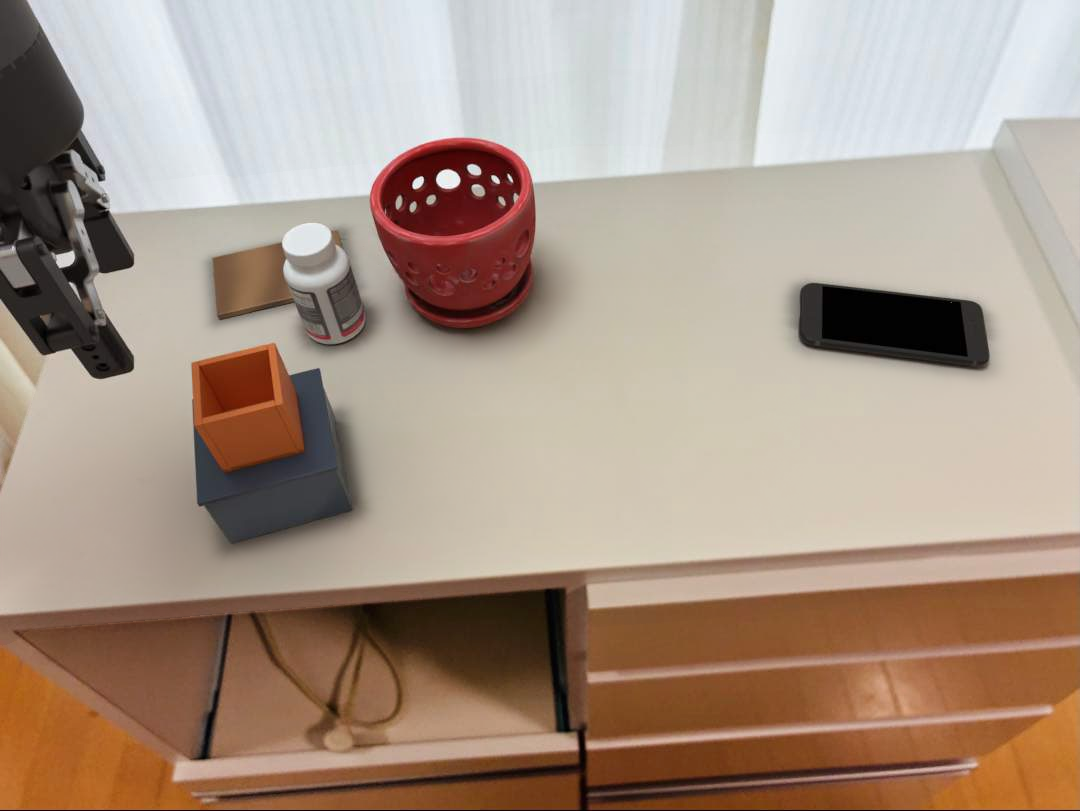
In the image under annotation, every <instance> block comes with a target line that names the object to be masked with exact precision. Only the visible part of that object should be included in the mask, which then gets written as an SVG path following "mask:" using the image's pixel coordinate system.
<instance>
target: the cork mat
mask: <svg viewBox="0 0 1080 811" xmlns="http://www.w3.org/2000/svg"><path fill="white" fill-rule="evenodd" d="M330 231H331V233H332V236H333V239H334V241H335V244H336V245H338V246H339V247H341V248H342V249H343V245H342V241H341V237H340V232H339V230H338V229H334V230H330ZM286 259H287V258H286V255H285V253H284V250H283V247H282V241H281V242H276V243H272V244H268V245H264V246H258V247H255V248H251V249H245V250H242V251H241V250H240V251H236V252H232V253H229V254H228V253H227V254H223V255H219V256H214V257H212V259H211V260H212V271H213V283H214V295H215V308H216V316H217V318H218V320H223V319H227V318H232V317H235V316H240V315H244V314H245V315H246V314H249V313H253V312H257V311H261V310H265V309H269V308H274V307H278V306H283V305H286V304H291V303H295V302H294V300H293V297H292V295H291V292H290V290H289V287H288V285H287V282H286V281H285V277H284V273H283V267H284V263H285V261H286Z"/></svg>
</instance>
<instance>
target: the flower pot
mask: <svg viewBox="0 0 1080 811" xmlns="http://www.w3.org/2000/svg"><path fill="white" fill-rule="evenodd" d="M470 165H474V166H477V167H478V168H479V169H480V174H478V175H477V174H474V173H471V172H470V170H469V169H468V167H469V166H470ZM443 171H452V172H455V174H457V175H458V177H459V184H458V185H456V186H455V187H452V188H445V187H442V186H440V185H439V184H438V182H437V178H438V175H439V174H440V173H441V172H443ZM493 176H494V177H496V178H497V179H498V182H499V183H496V182H495V181H494V180H493V178H492V177H493ZM509 176H510V177H511V180H512V181H511V180H510V178H509ZM420 177H421V178H423V182H422V184H421V186H419V187H417V188H414V186H413V185H414V181H415V180H416V179H419V178H420ZM475 185H476V186H477V185H478V186H480V187H481V188H483V191H484V195H481V196H479V195H476V194H475V193H474V191H473V186H475ZM515 194H516V196H518V197H517V199H516V201H515V197H514V196H515ZM430 196H434V197H435V200H434V202H433V203H430V204H428V203H427V202H428V198H429V197H430ZM399 197H401V204H400V206H399V207H398V208H397V200H398V198H399ZM500 197H501V198H502V199H503V200H504V203H505V204H502V203H501V202H500V199H499V198H500ZM413 203H415V204H416V205H415V209H414V210H413V211H411V205H412V204H413ZM369 207H370V213H371V216H372V220H373V223H374V227H375V230H376V234H377V235H378V238H379V241H380V244H381V247H382V249H383V250H384V253H385V255H386V257H387V259H388V261H389V262H390V265H391V266H392V268H393V270H394V271H395V273H396V275H397V276H398V277H399V278H400V279H401V281H402V282H403V289H404V293H405V295H406V299H407V300H408V302H409V303H410V305H411V306H412V307H413V309H414V310H415V311H416V312H417V313H419V314H420V315H421V316H422V317H424V318H426V320H429V321H431V322H433V323H435V324H438V325H441V326H445V327H450V328H457V329H459V328H461V329H467V328H469V329H470V328H477V327H482V326H487V325H489V324H492V323H495V322H497V321H499V320H501V319H503V318H505V317H507V316H508V315H510V314H511V313H513V312H514V311H515V310H516V309H517V308H518V307H520V305H521V304H522V303H523V302H524V301H525V299H526V298H527V296H528V294H529V292H530V291H531V287H532V284H533V280H534V266H533V261H532V259H531V256H532V253H533V248H534V244H535V239H536V238H535V237H536V226H537V225H536V222H537V217H536V216H537V214H536V212H537V211H536V197H535V190H534V184H533V178H532V175H531V171H530V169H529V167H528V165H527V164H526V162H525V160H523V159H522V157H521V156H519V155H518V154H517V153H516V152H514V151H513V150H511V149H510V148H508V147H506V146H504V145H502V144H500V143H497V142H495V141H491V140H487V139H482V138H475V137H448V138H441V139H436V140H432V141H428V142H425V143H422V144H418V145H417V146H414V147H412V148H410V149H408V150H406V151H405V152H402V153H401V154H399V155H398V156H396V157H395V158H393V159H392V160H391V161H390V162H389V163H387V165H386V166H384V168H382V169H381V171H380V172H379V174H378V175H377V176H376V178H375V179H374V181H373V183H372V186H371V189H370V193H369Z"/></svg>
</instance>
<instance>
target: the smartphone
mask: <svg viewBox="0 0 1080 811" xmlns="http://www.w3.org/2000/svg"><path fill="white" fill-rule="evenodd" d="M951 302H952V303H951ZM798 312H799V313H798V337H799V339H800V340H801V341H802V342H803V343H805V344H807V345H810V346H813V347H820V348H828V349H836V350H843V351H851V352H859V353H868V354H874V355H885V356H890V357H898V358H899V357H900V358H905V359H906V358H907V359H915V360H922V361H929V362H930V361H931V362H937V363H946V364H952V365H953V364H954V365H961V366H969V367H984V366H986V365H987V364H988V363H989V361H990V358H991V357H990V355H991V354H990V348H989V342H988V336H987V329H986V323H985V316H984V311H983V308H982V306H981V304H979V303H977V302H976V301H973V300H969V299H959V298H950V297H943V296H942V297H941V296H936V295H935V296H934V295H926V294H917V293H916V294H915V293H910V292H909V293H908V292H900V291H899V292H898V291H890V290H882V289H874V288H873V289H872V288H865V287H864V288H863V287H855V286H847V285H837V284H828V283H822V282H821V283H819V282H809V283H806V284H804V285H803V286H802V287H801V288H800V292H799V310H798Z"/></svg>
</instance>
